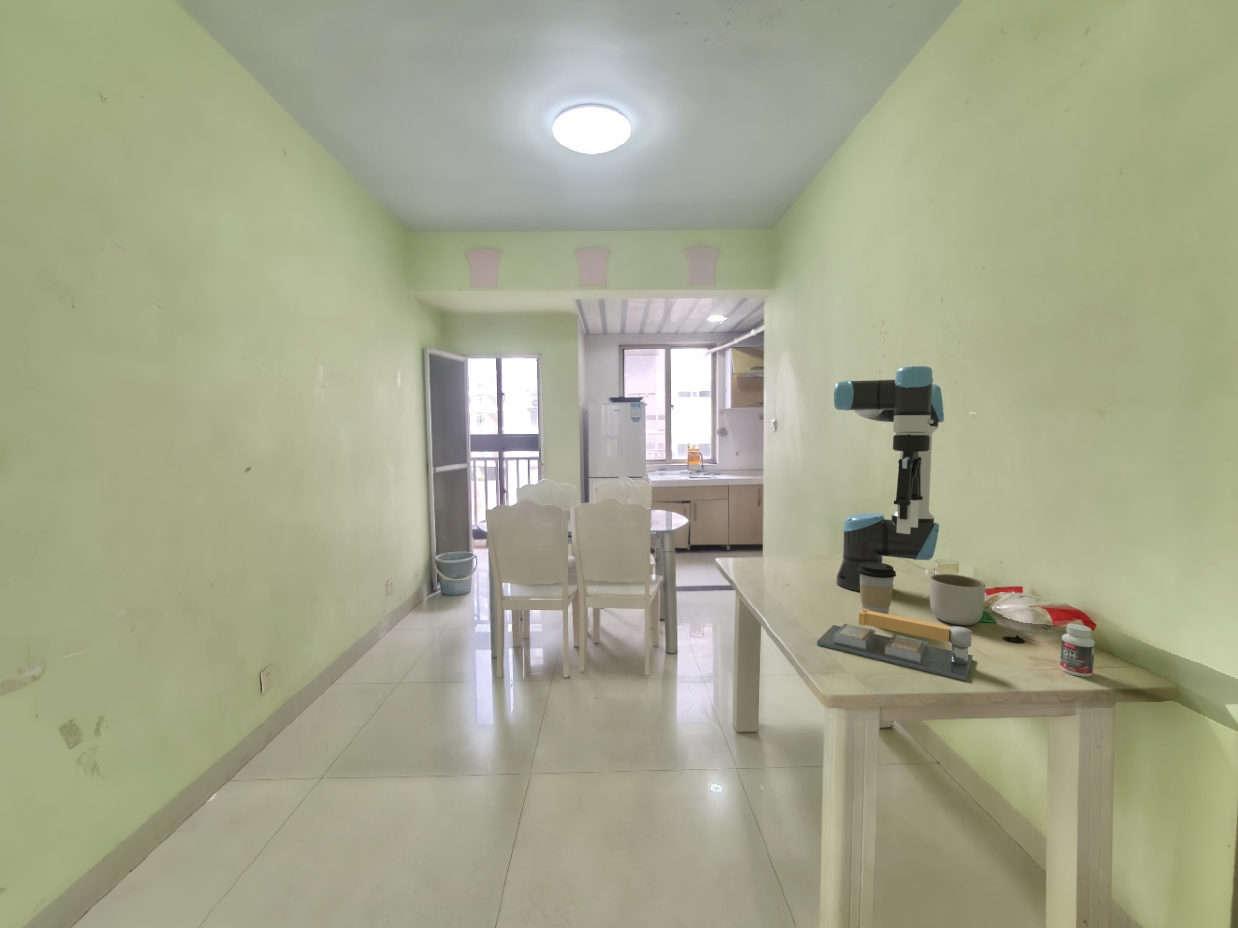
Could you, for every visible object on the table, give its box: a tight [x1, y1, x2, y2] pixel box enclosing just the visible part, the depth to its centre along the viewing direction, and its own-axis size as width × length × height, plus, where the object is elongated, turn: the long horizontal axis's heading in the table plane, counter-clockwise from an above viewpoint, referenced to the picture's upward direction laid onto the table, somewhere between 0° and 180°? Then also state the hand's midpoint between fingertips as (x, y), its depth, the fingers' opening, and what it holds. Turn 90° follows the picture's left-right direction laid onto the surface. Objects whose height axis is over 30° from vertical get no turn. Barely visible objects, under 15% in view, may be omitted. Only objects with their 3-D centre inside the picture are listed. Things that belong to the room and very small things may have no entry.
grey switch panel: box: [816, 623, 974, 682], centre depth 125 cm, size 13×30×5 cm, turn 53°
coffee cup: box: [857, 562, 897, 614], centre depth 145 cm, size 9×9×15 cm
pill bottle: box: [1059, 623, 1096, 678], centre depth 115 cm, size 5×5×10 cm
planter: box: [929, 573, 986, 626], centre depth 146 cm, size 12×12×11 cm
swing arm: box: [858, 608, 973, 648], centre depth 123 cm, size 22×4×3 cm, turn 53°
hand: (907, 529), depth 128 cm, fingers open, 9 cm apart
